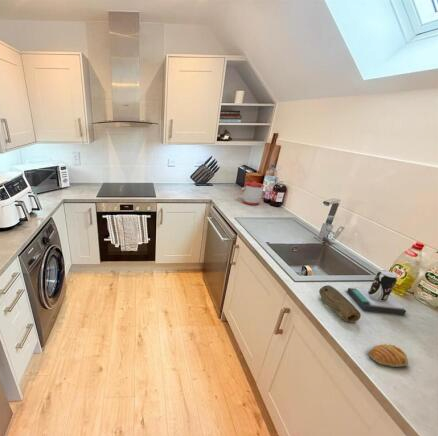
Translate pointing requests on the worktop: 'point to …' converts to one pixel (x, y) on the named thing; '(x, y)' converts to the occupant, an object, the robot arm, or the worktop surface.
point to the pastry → (389, 355)
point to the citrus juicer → (252, 192)
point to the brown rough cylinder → (339, 304)
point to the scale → (375, 302)
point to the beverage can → (382, 285)
